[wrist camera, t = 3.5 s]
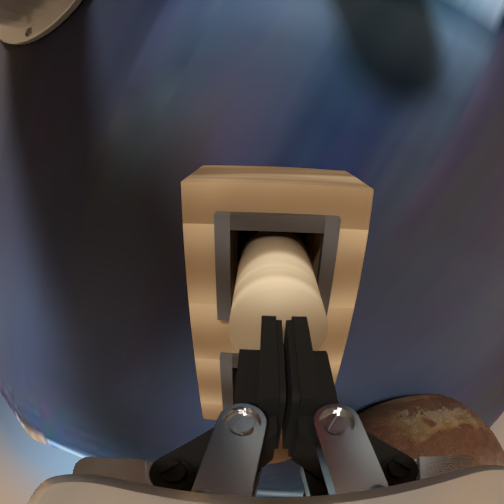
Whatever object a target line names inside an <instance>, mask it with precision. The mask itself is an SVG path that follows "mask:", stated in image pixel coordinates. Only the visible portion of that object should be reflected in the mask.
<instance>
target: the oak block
mask: <svg viewBox="0 0 504 504" xmlns="http://www.w3.org/2000/svg"><path fill="white" fill-rule="evenodd" d="M373 192H374V190H373V189H372V188H371V187H369V186H368V185H366V184H365V183H363V182H362V181H360V180H359V179H357V178H356V177H354V176H353V175H351V174H350V173H348V172H347V171H338V170H325V169H310V168H292V167H269V166H222V165H203V166H201V167H200V168H199V169H197V170H196V171H195V172H193V173H192V174H191V175H189V176H188V177H187V178H185V179H184V180H183V181H181V198H182V219H183V237H184V252H185V265H186V278H187V290H188V301H189V311H190V321H191V330H192V339H193V347H194V356H195V364H196V371H197V379H198V386H199V393H200V400H201V407H202V413H203V419H213V420H217V418H218V416H219V414H220V413H221V411H223V410H224V409H225V408H226V407H228V406H231V405H233V403H234V393H235V384H236V375H237V366H238V357H239V353H238V352H237V350H236V349H235V348H234V346H233V345H232V343H231V341H230V338H229V332H228V326H229V319H230V313H231V307H232V301H233V295H234V289H235V283H236V277H237V272H238V266H239V262H238V230H244V231H274V232H301V233H306V245H305V246H306V249H307V251H308V255H309V258H310V261H311V265H312V268H313V271H314V275H315V278H316V281H317V285H318V288H319V292H320V295H321V298H322V302H323V305H324V309H325V313H326V316H327V320H328V333H327V336H326V339H325V341H324V343H323V345H322V346H321V347H320V349H319V350H318V351H327V354H328V358H329V362H330V367H331V371H332V376H333V381H334V385H335V382H336V379H337V375H338V371H339V368H340V364H341V360H342V356H343V353H344V349H345V345H346V341H347V337H348V332H349V328H350V324H351V320H352V315H353V311H354V306H355V301H356V297H357V292H358V287H359V282H360V276H361V271H362V266H363V260H364V254H365V248H366V242H367V236H368V229H369V223H370V215H371V208H372V200H373Z"/></svg>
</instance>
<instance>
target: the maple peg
mask: <svg viewBox="0 0 504 504" xmlns="http://www.w3.org/2000/svg"><path fill="white" fill-rule="evenodd" d="M262 315H263V316H276V320H282V330H283V344H284V334H285V324H286V320H291V318H292V316H304V317H307V320H308V326H309V331H310V337H311V342H312V348H313V351H318V350H319V349H320V347H321V346H322V345H323V343H324V341H325V339H326V336H327V333H328V320H327V316H326V313H325V309H324V305H323V302H322V298H321V295H320V292H319V288H318V285H317V281H316V278H315V275H314V271H313V268H312V265H311V261H310V258H309V255H308V251H307V249H306V246H305V245H304V243H303V242H302V241H301V239H300V238H299V237H297V236H296V235H295V234H293V233H291V232H274V231H260V232H258V233H256V234H255V235H253V236H252V237H251V238H250V239H249V240H248V241H247V242H246V243H245V245H244V246H243V248H242V251H241V254H240V260H239V266H238V272H237V277H236V283H235V289H234V295H233V301H232V307H231V313H230V319H229V326H228V332H229V338H230V341H231V343H232V345H233V346H234V348H235V349H236V350H237V352H238V353H239V350H240V349H248V350H260V338H261V317H262Z"/></svg>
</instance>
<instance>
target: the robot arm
mask: <svg viewBox="0 0 504 504" xmlns="http://www.w3.org/2000/svg"><path fill="white" fill-rule="evenodd" d="M81 2H82V0H0V40H1V41H3V42H5V43H8V44H15V45H22V44H28V43H31V42H33V41H36V40H38V39H40V38H42V37H44V36H45V35H47V34H48V33H50V32H51V31H52V30H54V29H55V28H57V27H58V26H59V25H60V24H61V23H62V22H63V21H64V20H66V19H67V18H68V17H69V16H70V15H71V13H72V12H73V11H74V10H75V9H76V8H77V7H78V6H79V4H80V3H81ZM281 429H282V446H283V449H288V457H292V460H293V461H295V462H296V463H297V464H299V465H300V473H301V477H302V481H303V485H304V489H305V493H306V497H256V493H257V488H258V484H259V480H260V475H261V470H262V467H264V466H265V465H266V464H268V463H269V462H270V461H272V460H273V456H274V449H278V447H279V441H280V435H281ZM27 504H504V466H499V465H480V466H478V463H477V461H476V460H475V459H474V458H473V457H471V456H469V455H454V456H429V457H419V458H418V459H413V458H411V457H410V456H409V455H407V454H405V453H403V452H401V451H399V450H398V449H396V448H394V447H392V446H390V445H389V444H387V443H385V442H383V441H382V440H380V439H378V438H376V437H375V436H373V435H371V434H369V433H368V432H366V431H365V429H364V427H363V425H362V422H361V420H360V418H359V416H358V414H357V413H356V411H354V410H353V409H352V408H351V407H348V406H346V405H343V404H338V400H337V395H336V390H335V385H334V381H333V376H332V371H331V367H330V362H329V358H328V354H327V351H313V348H312V342H311V337H310V331H309V326H308V320H307V317H304V316H292V318H291V320H286V324H285V334H284V344H283V330H282V320H276V316H263V315H262V317H261V338H260V350H248V349H240V350H239V357H238V366H237V375H236V384H235V393H234V403H233V405H231V406H228V407H226V408H225V409H224V410H223V411H221V413H220V414H219V416H218V418H217V421H216V424H215V427H214V428H212V429H210V430H209V431H207V432H205V433H204V434H202V435H200V436H199V437H197V438H195V439H193V440H192V441H190V442H188V443H186V444H185V445H183V446H181V447H179V448H177V449H175V450H174V451H172V452H170V453H168V454H166V455H164V456H162V457H160V458H159V459H158V460H156V461H146V460H145V459H125V458H104V457H85V458H83V459H81V460H79V461H78V462H77V463H76V464H75V467H74V470H73V474H68V475H61V476H55V477H51V478H49V479H47V480H45V481H44V482H43V483H42V484H40V485H39V487H38V488H37V489H36V490H35V492H34V493H33V495H32V496H31V498H30V500H29V502H28V503H27Z"/></svg>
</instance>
